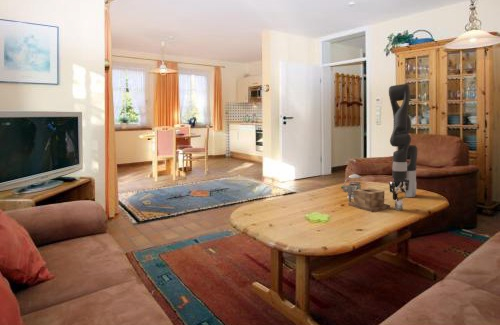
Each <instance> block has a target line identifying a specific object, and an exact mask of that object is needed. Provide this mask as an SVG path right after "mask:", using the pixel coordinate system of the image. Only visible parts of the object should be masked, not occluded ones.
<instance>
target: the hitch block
mask: <svg viewBox="0 0 500 325" xmlns="http://www.w3.org/2000/svg"><path fill="white" fill-rule="evenodd" d="M347 205H348V206H349V207H353V208H356V209H361V210H363V211H366V212H369V213H370V212H371V213H374V212H378V211H382V210H387V209H391V204H387V203H385V190H381V189H376V188H371V187H365V188H361V189H358V190H354V199H353V201H351V202H348V204H347Z"/></svg>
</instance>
